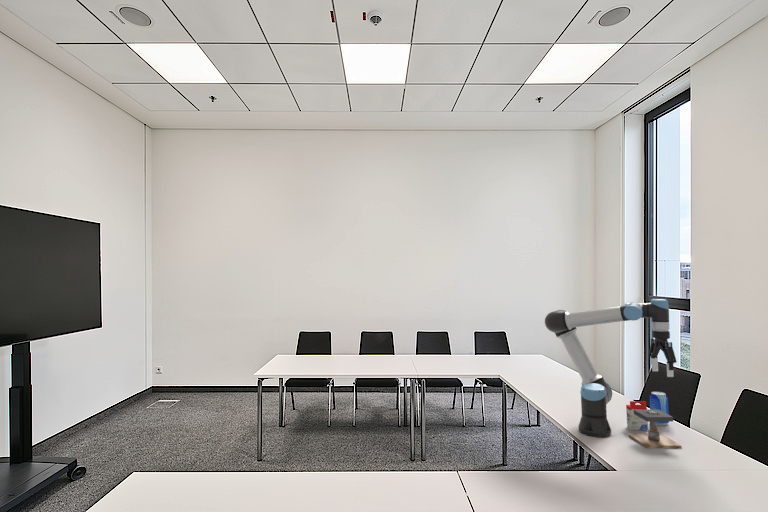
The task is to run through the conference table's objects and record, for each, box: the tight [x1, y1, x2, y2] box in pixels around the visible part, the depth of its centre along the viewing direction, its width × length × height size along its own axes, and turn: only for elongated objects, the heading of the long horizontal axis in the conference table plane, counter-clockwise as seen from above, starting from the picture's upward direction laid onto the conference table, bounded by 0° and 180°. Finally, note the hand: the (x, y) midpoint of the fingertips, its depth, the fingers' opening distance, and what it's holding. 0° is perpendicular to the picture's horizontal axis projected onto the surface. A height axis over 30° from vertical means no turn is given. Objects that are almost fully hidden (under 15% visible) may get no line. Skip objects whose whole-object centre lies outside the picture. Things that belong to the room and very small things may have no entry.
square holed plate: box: [634, 409, 674, 423], centre depth 217 cm, size 12×12×2 cm
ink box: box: [625, 400, 649, 431], centre depth 236 cm, size 8×5×15 cm, turn 84°
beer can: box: [649, 391, 670, 426], centre depth 244 cm, size 8×8×16 cm
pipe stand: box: [628, 411, 683, 449], centre depth 217 cm, size 16×16×14 cm
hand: (662, 373), depth 226 cm, fingers open, 12 cm apart
